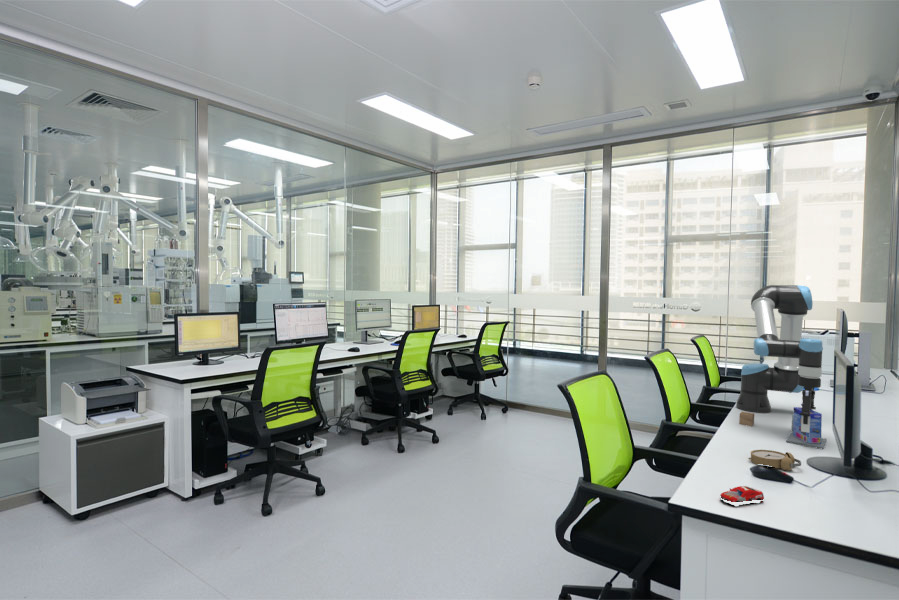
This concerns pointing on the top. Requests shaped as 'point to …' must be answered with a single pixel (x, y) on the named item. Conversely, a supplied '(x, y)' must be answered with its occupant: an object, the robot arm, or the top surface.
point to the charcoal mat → (798, 441)
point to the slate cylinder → (792, 421)
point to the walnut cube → (746, 418)
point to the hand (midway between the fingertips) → (807, 428)
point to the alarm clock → (774, 459)
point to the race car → (742, 494)
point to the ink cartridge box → (815, 426)
